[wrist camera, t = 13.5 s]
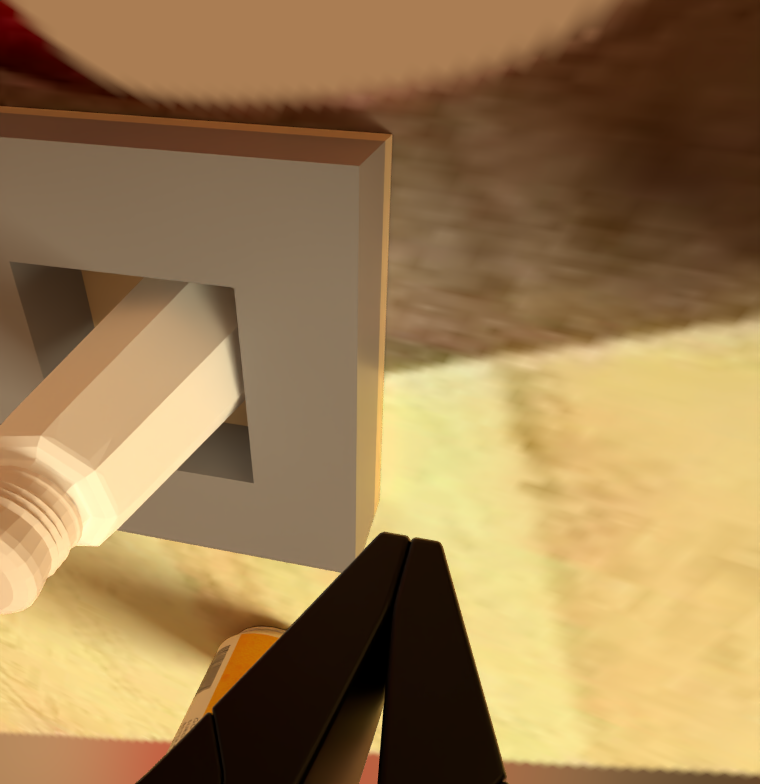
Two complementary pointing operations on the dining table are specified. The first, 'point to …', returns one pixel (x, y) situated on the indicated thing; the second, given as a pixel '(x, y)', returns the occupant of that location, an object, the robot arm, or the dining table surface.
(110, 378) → the pepper shaker
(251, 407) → the socket block
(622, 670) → the dining table surface
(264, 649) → the beer can
